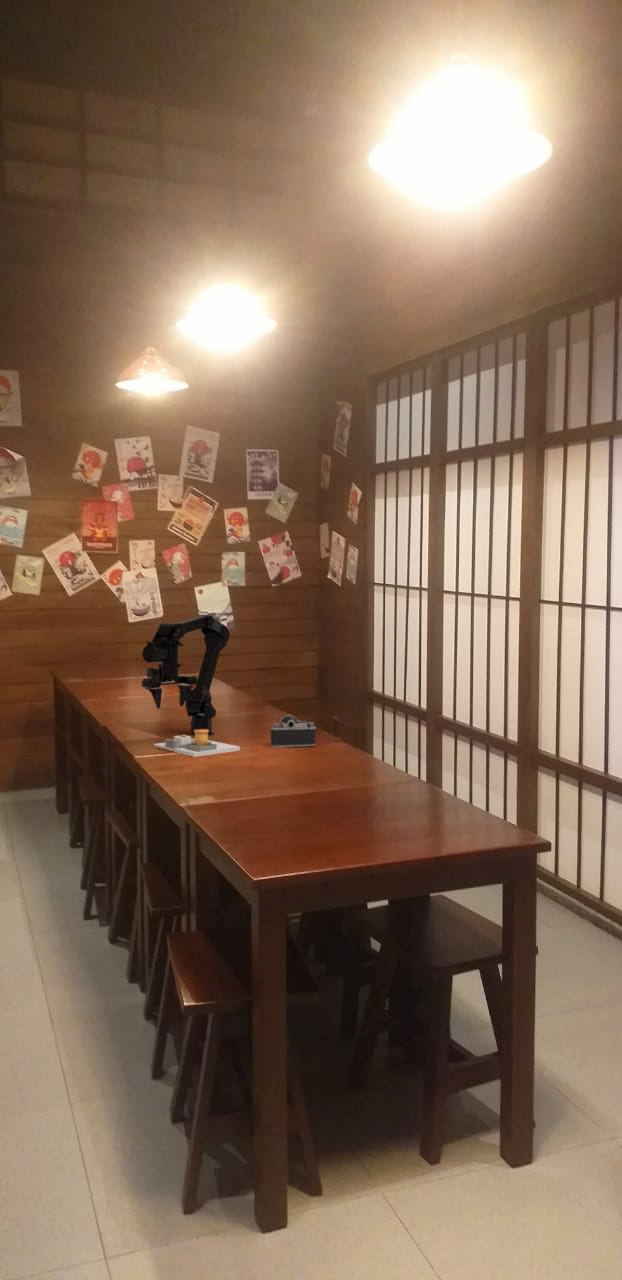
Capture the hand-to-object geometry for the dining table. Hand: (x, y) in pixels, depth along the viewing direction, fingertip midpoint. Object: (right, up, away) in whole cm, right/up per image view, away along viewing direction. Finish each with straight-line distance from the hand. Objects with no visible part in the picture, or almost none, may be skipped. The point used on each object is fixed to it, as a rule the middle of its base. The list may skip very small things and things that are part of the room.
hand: (169, 707), depth 326 cm
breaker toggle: (+6, -12, -12) cm, 17 cm away
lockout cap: (+12, -12, -17) cm, 24 cm away
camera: (+41, -13, 0) cm, 43 cm away
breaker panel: (+10, -13, -10) cm, 19 cm away
